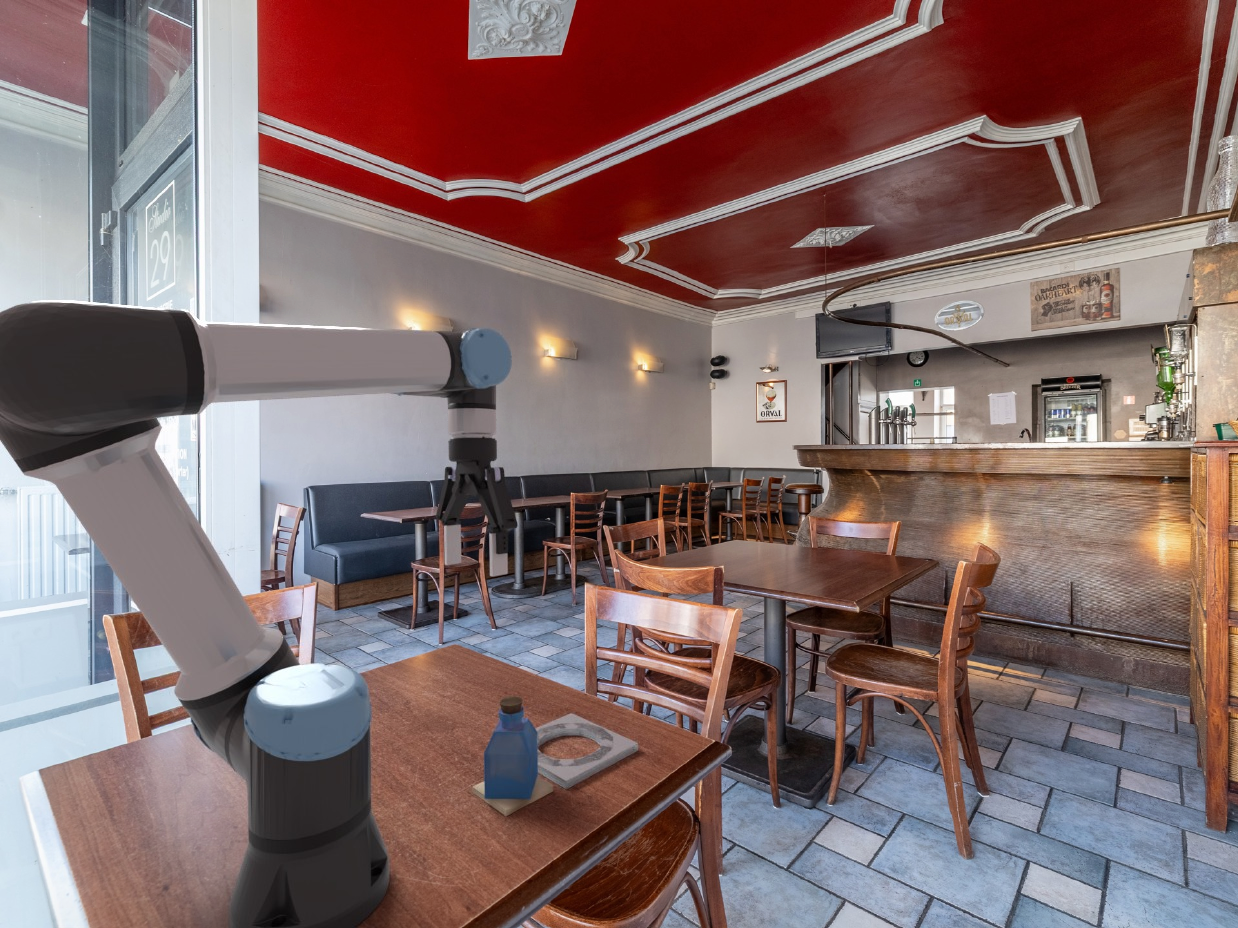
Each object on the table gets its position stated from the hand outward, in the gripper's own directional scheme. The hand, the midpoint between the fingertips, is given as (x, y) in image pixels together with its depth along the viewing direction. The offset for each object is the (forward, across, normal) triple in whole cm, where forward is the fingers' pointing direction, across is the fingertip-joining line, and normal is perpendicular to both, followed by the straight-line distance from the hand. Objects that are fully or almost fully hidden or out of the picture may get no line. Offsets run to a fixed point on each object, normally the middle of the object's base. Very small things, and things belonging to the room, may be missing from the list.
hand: (474, 569), depth 95 cm
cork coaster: (+29, -15, +4) cm, 33 cm away
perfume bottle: (+28, -15, +4) cm, 32 cm away
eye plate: (+29, -12, -9) cm, 32 cm away
